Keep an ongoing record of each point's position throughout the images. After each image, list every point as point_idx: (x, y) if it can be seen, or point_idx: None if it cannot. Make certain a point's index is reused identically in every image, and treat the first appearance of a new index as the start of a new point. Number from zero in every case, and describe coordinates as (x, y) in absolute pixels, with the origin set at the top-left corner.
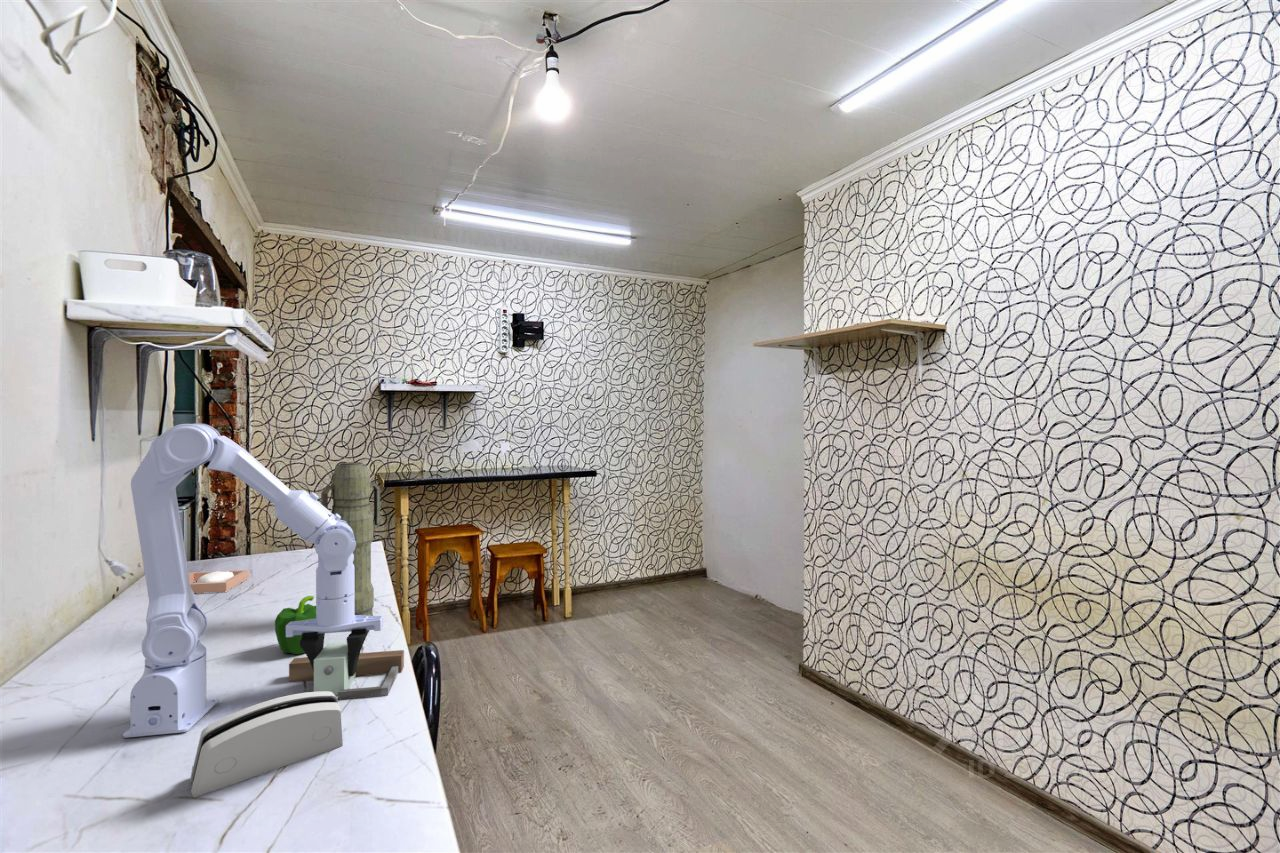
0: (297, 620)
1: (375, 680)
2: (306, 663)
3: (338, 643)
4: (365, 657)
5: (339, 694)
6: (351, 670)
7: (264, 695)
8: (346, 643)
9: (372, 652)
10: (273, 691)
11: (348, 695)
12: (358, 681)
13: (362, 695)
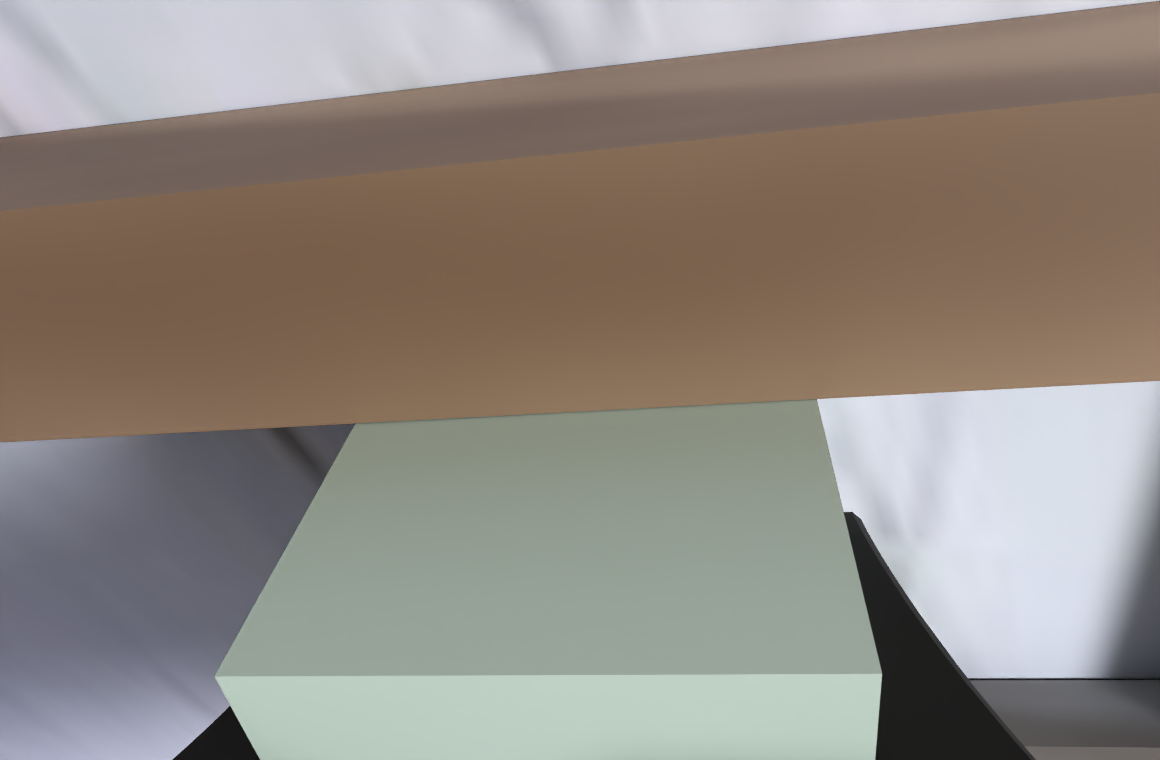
0: None
1: (1079, 406)
2: (67, 431)
3: (476, 709)
4: (995, 354)
5: None
6: None
7: (45, 558)
8: (671, 722)
9: (1132, 116)
10: (57, 502)
11: None
12: (860, 406)
13: None
